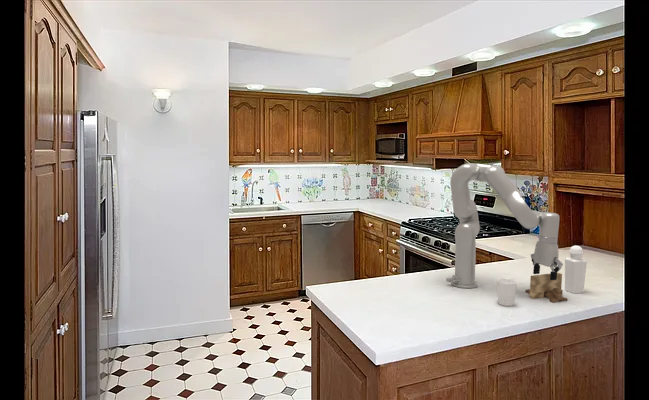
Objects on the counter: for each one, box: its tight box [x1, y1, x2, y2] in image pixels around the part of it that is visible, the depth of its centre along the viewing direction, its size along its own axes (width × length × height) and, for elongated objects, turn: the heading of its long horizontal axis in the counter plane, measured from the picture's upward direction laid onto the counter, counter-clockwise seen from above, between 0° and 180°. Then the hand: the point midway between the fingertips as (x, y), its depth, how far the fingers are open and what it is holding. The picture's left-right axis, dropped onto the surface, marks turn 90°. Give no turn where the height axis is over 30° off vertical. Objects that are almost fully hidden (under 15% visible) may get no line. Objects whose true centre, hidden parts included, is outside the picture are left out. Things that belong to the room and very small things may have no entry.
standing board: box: [525, 288, 568, 304], centre depth 200 cm, size 16×8×5 cm, turn 19°
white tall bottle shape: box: [564, 245, 588, 294], centre depth 206 cm, size 6×6×22 cm
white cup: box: [496, 278, 518, 307], centre depth 190 cm, size 8×8×10 cm
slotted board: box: [529, 272, 563, 300], centre depth 200 cm, size 16×2×10 cm, turn 109°
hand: (544, 276), depth 199 cm, fingers open, 9 cm apart
